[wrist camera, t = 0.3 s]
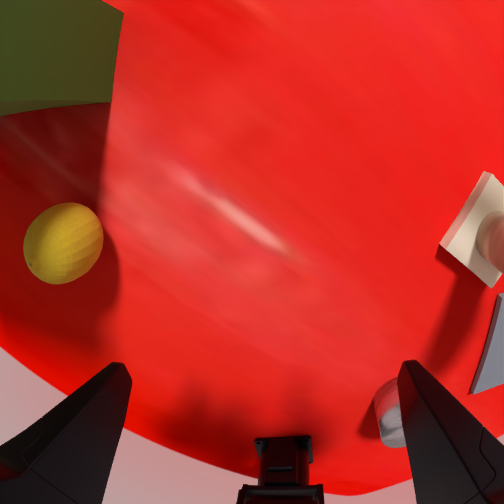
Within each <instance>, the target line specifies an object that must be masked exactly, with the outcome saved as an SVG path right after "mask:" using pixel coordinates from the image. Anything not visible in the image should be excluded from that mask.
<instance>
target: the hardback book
mask: <svg viewBox="0 0 504 504" xmlns="http://www.w3.org/2000/svg"><path fill="white" fill-rule="evenodd" d="M123 15H124V13H123V12H121V11H120V10H118V9H116V8H114V7H112V6H111V5H109V4H107V3H105V2H103V1H102V0H0V116H5V115H10V114H15V113H21V112H27V111H33V110H39V109H46V108H54V107H62V106H71V105H81V104H92V103H107V102H112V91H113V81H114V72H115V64H116V57H117V50H118V43H119V37H120V31H121V26H122V20H123Z"/></svg>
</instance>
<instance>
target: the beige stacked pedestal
mask: <svg viewBox="0 0 504 504" xmlns="http://www.w3.org/2000/svg"><path fill="white" fill-rule="evenodd" d="M439 244H440V245H441V246H442V247H443V248H445V249H446V250H447V251H448V252H449V253H451V254H452V255H453V256H454V257H455V258H457V259H458V260H459V261H460V262H461V263H463V264H464V265H465V266H466V267H467V268H468V269H470V270H471V271H472V272H473V273H474V274H475V275H476V276H478V277H479V278H480V279H481V280H482V281H483V282H484V283H485V284H487V285H488V286H489V287H490V288H491V289H492V287H493V286H494V285H495V283H496V282H497V280H498V279H499V278H500V276H501V275H502V274H503V275H504V187H503V186H502V184H501V183H500V182H499V181H498V180H497V179H496V178H495V177H494V176H493V174H491V173H488V172H485V171H484V172H483V173H482V175H481V177H480V179H479V181H478V182H477V184H476V186H475V188H474V189H473V191H472V193H471V194H470V196H469V198H468V199H467V201H466V203H465V204H464V206H463V208H462V209H461V211H460V212H459V214H458V216H457V217H456V219H455V220H454V222H453V223H452V225H451V227H450V228H449V230H448V231H447V233H446V234H445V236H444V237H443V239H442V240H441V241H440V243H439Z"/></svg>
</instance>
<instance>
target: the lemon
mask: <svg viewBox="0 0 504 504" xmlns="http://www.w3.org/2000/svg"><path fill="white" fill-rule="evenodd" d="M103 241H104V237H103V229H102V226H101V223H100V221H99V219H98V217H97V216H96V215H95V214H94V212H93V211H91V210H90V209H89V208H88V207H86V206H84V205H82V204H79V203H72V202H67V203H61V204H57V205H54V206H52V207H50V208H48V209H47V210H45V211H44V212H42V213H41V214H40V215H38V216H37V217H36V218H35V220H34V221H33V222H32V223H31V225H30V226H29V228H28V229H27V232H26V235H25V238H24V245H23V250H24V257H25V261H26V263H27V266H28V267H29V269H30V271H31V272H32V273H33V274H34V275H35V276H36V277H37V278H39V279H40V280H42V281H44V282H46V283H49V284H64V283H68V282H71V281H73V280H76V279H77V278H79V277H81V276H82V275H84V274H85V273H87V272H88V271H89V270H90V269H91V267H92V266H93V265H94V264H95V263H96V261H97V260H98V258H99V256H100V253H101V251H102V248H103Z"/></svg>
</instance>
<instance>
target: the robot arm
mask: <svg viewBox="0 0 504 504" xmlns="http://www.w3.org/2000/svg"><path fill="white" fill-rule="evenodd" d="M131 387H132V379H131V376H130V374H129V372H128V371H127V369H126V367H125V365H124V364H123V363H119V362H112V363H110V364H109V365H107V366H106V367H105V368H104V369H102V370H101V371H100V372H99V373H97V374H96V375H95V376H93V377H92V378H91V379H90V380H88V381H87V382H86V383H85V384H83V385H82V386H81V387H79V388H78V389H77V390H76V391H74V392H73V393H72V394H71V395H69V396H68V397H67V398H66V399H64V400H63V401H62V402H60V403H59V404H58V405H57V406H55V407H54V408H53V409H52V410H50V411H49V412H48V413H46V414H45V415H44V416H43V417H42V418H40V419H39V420H37V421H36V422H35V423H34V424H32V425H31V426H29V427H28V428H27V429H26V430H24V431H23V432H21V433H20V434H18V435H17V436H15V437H14V438H12V439H10V440H9V441H7V442H6V443H4V444H2V445H1V446H0V504H102V501H103V497H104V493H105V489H106V485H107V481H108V477H109V474H110V470H111V467H112V463H113V460H114V456H115V452H116V449H117V446H118V442H119V439H120V436H121V432H122V429H123V426H124V422H125V418H126V413H127V407H128V402H129V397H130V392H131ZM397 387H398V395H399V403H400V412H401V421H402V427H403V432H404V437H405V441H406V446H407V451H408V456H409V461H410V466H411V472H412V477H413V483H414V488H415V494H416V501H417V504H504V445H503V444H502V443H500V442H499V441H498V440H497V439H496V438H495V437H494V436H493V435H492V434H491V433H490V432H489V431H488V430H487V429H486V428H485V427H483V425H482V424H481V423H480V422H479V421H478V420H477V419H476V418H475V417H474V416H473V415H472V414H471V413H470V412H469V411H468V410H467V409H466V408H465V407H464V406H463V405H462V404H461V403H460V402H459V401H458V400H457V399H456V398H455V397H454V396H453V395H452V394H451V393H450V392H449V391H448V390H447V389H446V388H445V387H444V386H443V385H442V384H441V383H440V382H439V381H438V380H436V379H435V378H434V377H433V376H432V375H431V374H430V373H429V372H428V371H427V370H426V369H425V368H424V367H423V366H422V365H421V364H420V363H419V362H418V361H416V360H407V361H404V362H403V363H402V365H401V369H400V372H399V375H398V378H397ZM254 444H255V447H256V450H257V453H258V456H259V458H260V468H259V477H258V486H257V485H247V484H243V487H242V489H241V490H239V492H238V498H237V503H236V504H324V493H323V484H318V485H309V464H311V463H313V453H312V442H311V436H295V437H280V438H257V439H255V440H254Z"/></svg>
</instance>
